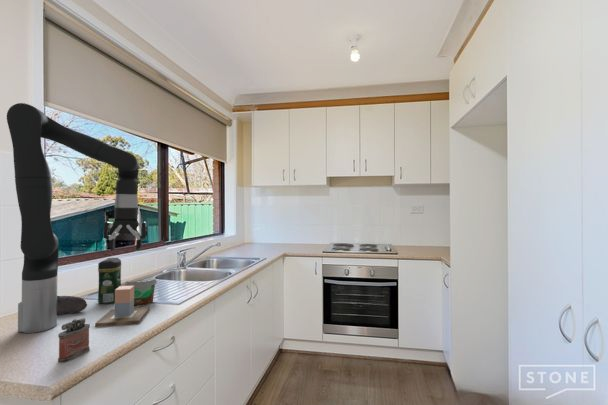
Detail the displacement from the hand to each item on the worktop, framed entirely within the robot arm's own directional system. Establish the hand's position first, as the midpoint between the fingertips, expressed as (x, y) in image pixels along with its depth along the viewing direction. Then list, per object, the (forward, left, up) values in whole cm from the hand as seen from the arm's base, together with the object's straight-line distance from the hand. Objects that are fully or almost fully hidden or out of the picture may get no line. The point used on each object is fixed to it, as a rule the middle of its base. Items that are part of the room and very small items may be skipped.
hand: (125, 249), depth 114 cm
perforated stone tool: (-24, +10, -26) cm, 37 cm away
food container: (+1, +15, -26) cm, 30 cm away
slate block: (0, 0, -24) cm, 24 cm away
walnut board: (0, 0, -26) cm, 26 cm away
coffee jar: (-13, +23, -26) cm, 37 cm away
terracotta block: (0, 0, -19) cm, 19 cm away
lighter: (-4, -28, -26) cm, 38 cm away
